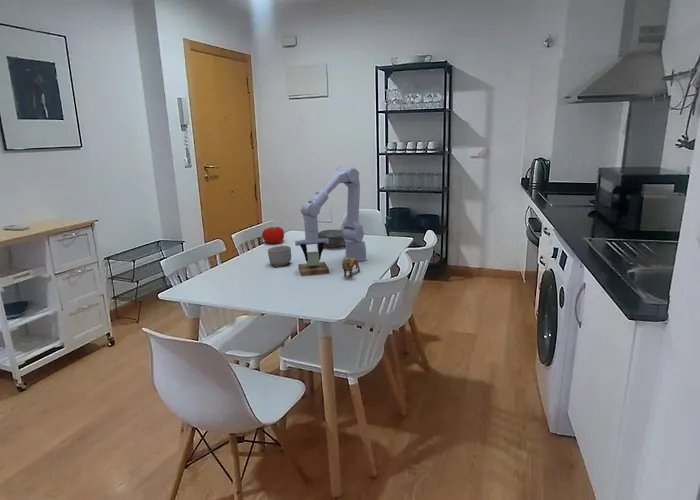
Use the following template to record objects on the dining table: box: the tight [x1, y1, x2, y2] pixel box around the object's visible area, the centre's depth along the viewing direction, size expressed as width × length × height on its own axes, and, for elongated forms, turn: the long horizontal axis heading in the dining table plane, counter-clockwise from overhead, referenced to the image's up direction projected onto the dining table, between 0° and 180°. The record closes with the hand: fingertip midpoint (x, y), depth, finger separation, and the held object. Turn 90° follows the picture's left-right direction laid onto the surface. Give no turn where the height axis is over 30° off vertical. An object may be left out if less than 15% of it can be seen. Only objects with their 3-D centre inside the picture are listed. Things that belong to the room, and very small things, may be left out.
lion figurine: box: [341, 258, 361, 278], centre depth 196 cm, size 15×5×9 cm, turn 164°
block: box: [306, 250, 320, 266], centre depth 203 cm, size 5×5×5 cm
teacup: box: [267, 244, 292, 267], centre depth 217 cm, size 14×11×8 cm
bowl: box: [318, 229, 345, 248], centre depth 246 cm, size 18×18×8 cm
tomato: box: [261, 226, 285, 244], centre depth 258 cm, size 14×13×9 cm
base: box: [298, 261, 330, 277], centre depth 204 cm, size 12×12×2 cm
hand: (313, 260), depth 203 cm, fingers closed on block, 5 cm apart
